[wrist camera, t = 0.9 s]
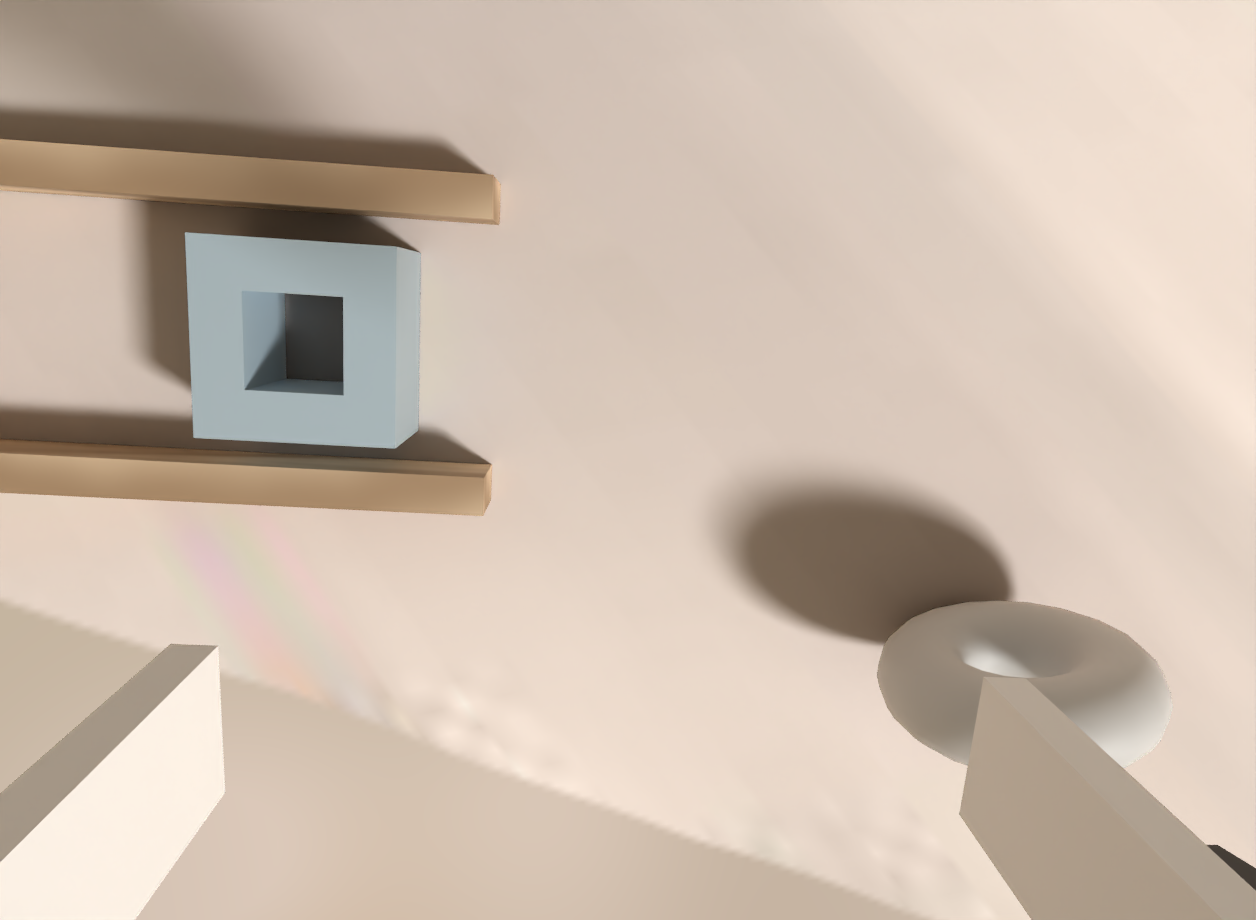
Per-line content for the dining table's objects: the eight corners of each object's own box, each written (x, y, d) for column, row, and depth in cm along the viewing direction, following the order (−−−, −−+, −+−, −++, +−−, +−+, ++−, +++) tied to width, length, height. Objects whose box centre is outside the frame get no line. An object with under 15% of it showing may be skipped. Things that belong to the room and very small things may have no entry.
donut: (846, 676, 36) (942, 819, 26) (842, 603, 35) (939, 722, 25) (1067, 650, 36) (1244, 782, 26) (1067, 577, 35) (1250, 684, 26)
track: (-159, 136, 30) (-247, 118, 27) (500, 184, 31) (490, 171, 28) (-119, 469, 32) (-195, 488, 29) (490, 500, 34) (480, 521, 30)
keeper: (236, 240, 31) (184, 232, 27) (420, 252, 31) (396, 246, 28) (241, 420, 32) (193, 437, 28) (418, 430, 33) (395, 448, 29)
